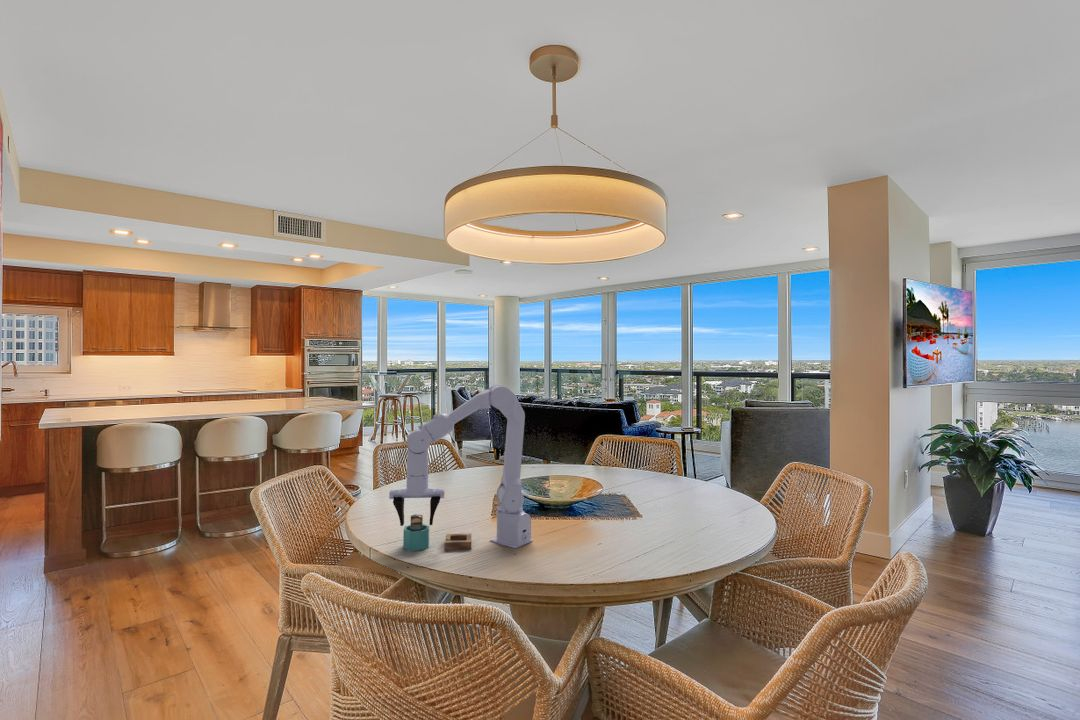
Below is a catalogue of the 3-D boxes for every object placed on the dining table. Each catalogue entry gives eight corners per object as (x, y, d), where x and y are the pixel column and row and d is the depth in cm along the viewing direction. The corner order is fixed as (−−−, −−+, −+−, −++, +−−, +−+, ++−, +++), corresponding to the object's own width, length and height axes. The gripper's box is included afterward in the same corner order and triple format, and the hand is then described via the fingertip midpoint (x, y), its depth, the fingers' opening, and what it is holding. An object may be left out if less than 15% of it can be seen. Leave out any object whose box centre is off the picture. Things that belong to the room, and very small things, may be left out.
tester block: (471, 540, 151) (471, 532, 151) (471, 549, 144) (471, 541, 144) (446, 541, 150) (446, 533, 150) (444, 549, 143) (445, 541, 143)
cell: (424, 543, 146) (425, 514, 146) (415, 546, 143) (415, 517, 143) (417, 541, 148) (417, 512, 148) (407, 544, 145) (408, 514, 145)
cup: (433, 545, 146) (434, 527, 146) (414, 552, 141) (414, 533, 141) (418, 540, 150) (418, 522, 150) (398, 546, 145) (399, 528, 145)
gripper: (445, 471, 151) (444, 519, 151) (392, 471, 149) (391, 520, 149) (444, 476, 144) (443, 527, 144) (388, 477, 142) (387, 528, 142)
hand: (416, 524), depth 146 cm, fingers open, 7 cm apart
